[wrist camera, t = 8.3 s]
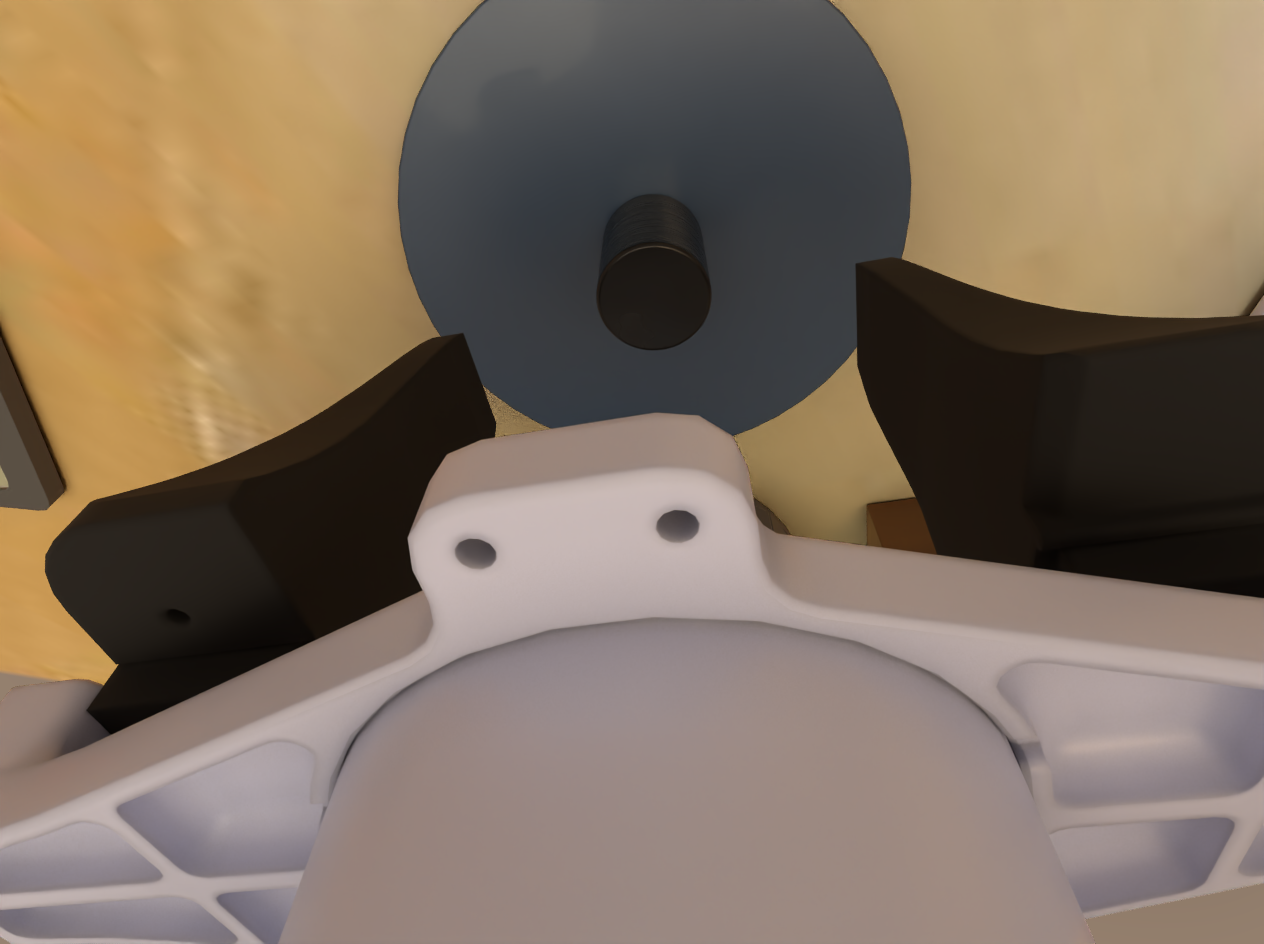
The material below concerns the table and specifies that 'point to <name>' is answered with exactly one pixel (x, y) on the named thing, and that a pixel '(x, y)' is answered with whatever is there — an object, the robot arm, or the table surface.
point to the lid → (652, 202)
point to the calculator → (22, 449)
